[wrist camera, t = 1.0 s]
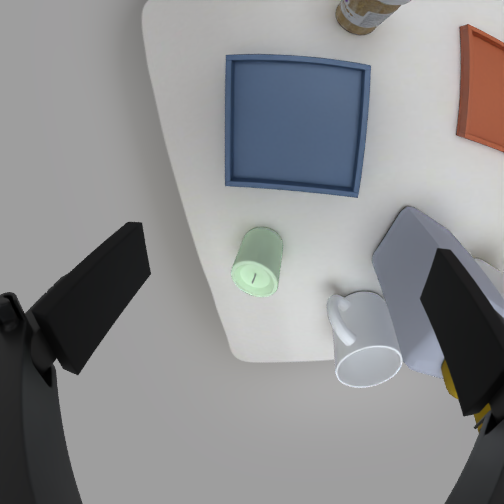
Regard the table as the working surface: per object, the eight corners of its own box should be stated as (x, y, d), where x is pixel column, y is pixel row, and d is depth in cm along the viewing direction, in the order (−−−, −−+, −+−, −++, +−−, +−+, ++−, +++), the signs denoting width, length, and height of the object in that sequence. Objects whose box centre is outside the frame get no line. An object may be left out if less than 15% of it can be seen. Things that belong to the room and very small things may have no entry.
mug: (303, 294, 38) (301, 352, 30) (352, 260, 35) (366, 315, 26) (351, 340, 41) (357, 394, 33) (396, 313, 38) (412, 367, 29)
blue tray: (230, 57, 25) (225, 54, 23) (366, 67, 23) (370, 65, 22) (229, 180, 32) (225, 186, 30) (354, 191, 30) (358, 197, 29)
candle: (259, 269, 37) (248, 310, 30) (234, 240, 36) (217, 278, 29) (291, 250, 35) (288, 290, 28) (266, 219, 34) (256, 254, 27)
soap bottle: (453, 232, 30) (557, 388, 9) (416, 284, 35) (475, 452, 13) (404, 200, 30) (522, 376, 8) (366, 259, 34) (413, 456, 13)
